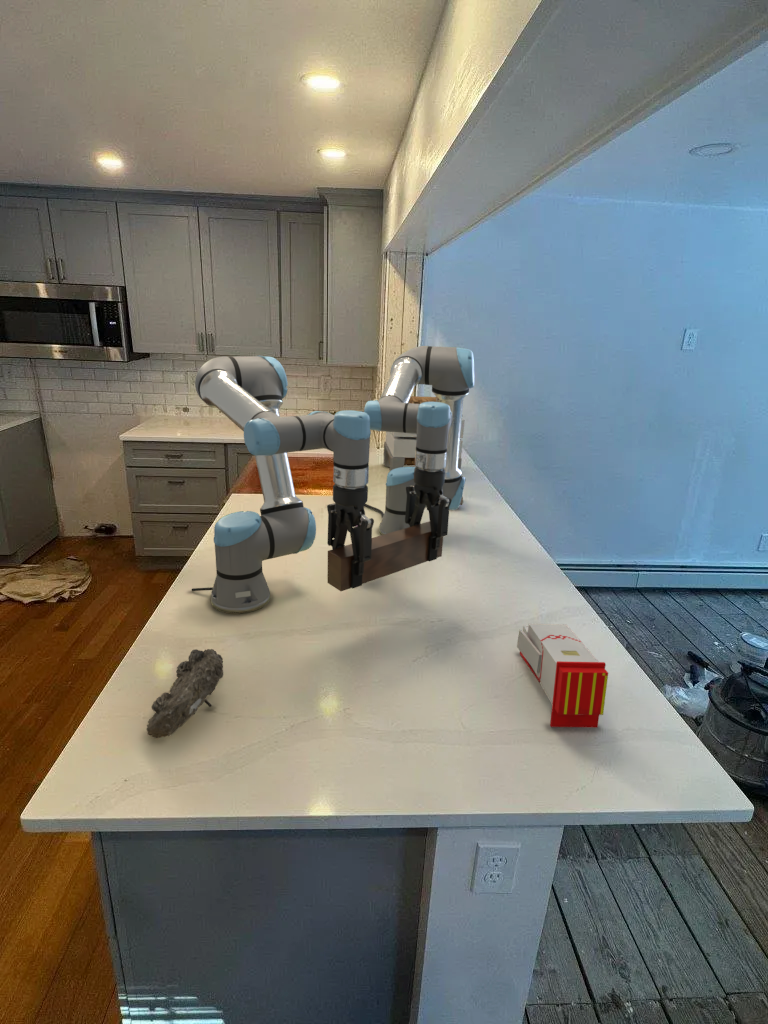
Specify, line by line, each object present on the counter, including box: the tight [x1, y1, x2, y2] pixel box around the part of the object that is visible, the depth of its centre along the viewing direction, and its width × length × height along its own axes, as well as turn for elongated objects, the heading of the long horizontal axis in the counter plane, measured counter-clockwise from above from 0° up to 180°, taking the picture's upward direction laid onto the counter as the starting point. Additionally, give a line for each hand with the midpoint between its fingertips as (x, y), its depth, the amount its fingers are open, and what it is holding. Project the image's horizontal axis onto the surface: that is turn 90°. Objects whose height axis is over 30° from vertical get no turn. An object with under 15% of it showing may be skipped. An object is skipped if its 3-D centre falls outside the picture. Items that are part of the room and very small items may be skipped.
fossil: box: [146, 648, 224, 739], centre depth 109 cm, size 22×10×15 cm
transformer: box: [383, 395, 465, 472], centre depth 268 cm, size 34×33×41 cm
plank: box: [327, 520, 444, 592], centre depth 136 cm, size 32×5×8 cm, turn 131°
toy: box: [516, 623, 609, 728], centre depth 121 cm, size 12×13×30 cm
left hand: (348, 581), depth 129 cm, fingers closed on plank, 5 cm apart
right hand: (423, 555), depth 144 cm, fingers closed on plank, 5 cm apart
